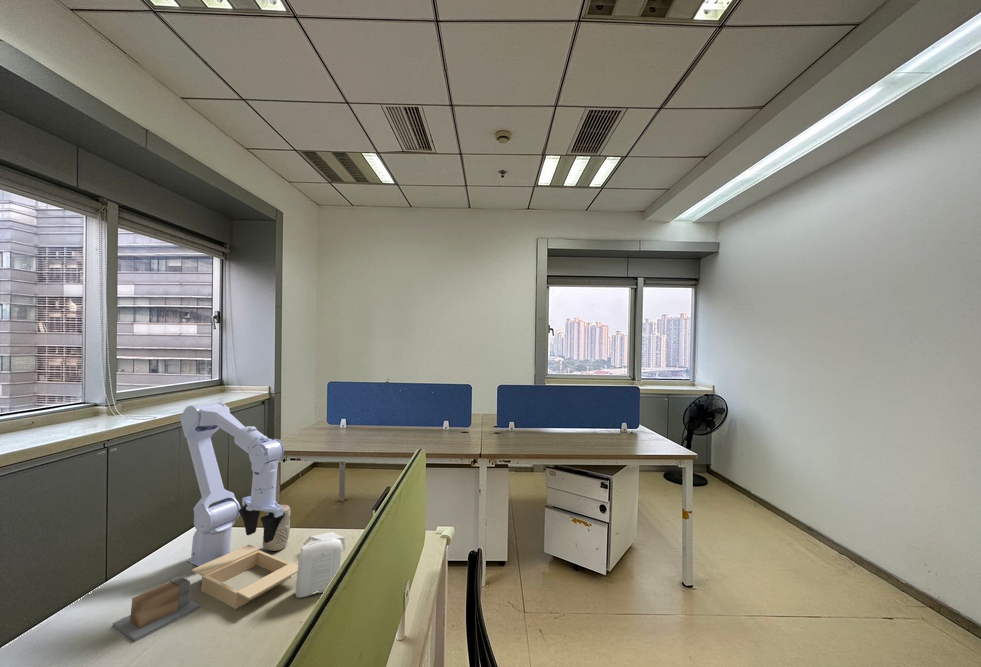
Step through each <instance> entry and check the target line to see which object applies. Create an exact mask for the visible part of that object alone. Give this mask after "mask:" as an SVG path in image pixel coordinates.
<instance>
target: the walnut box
mask: <svg viewBox="0 0 981 667" xmlns="http://www.w3.org/2000/svg"><path fill="white" fill-rule="evenodd" d="M190 589H191V581H190V579H189V580H188V579H186V578H185V577H182V575H181V576H180V575H179V576H177V577H175V578H172V579H170V580H169V581H168V582H165V583H163V584H160V585H159V586H157V587H154V588H152V589H150V590H147V591H146V592H143V593H141V594H139V595H136V596H133V597H132V598H131V606H130V615H131V616H130V622H131V623H132V624H134V625H135V626H137V627H138V628H142V627H144V626H146V625H148V624H150V623H152V622H154V621H156V620H158V619H160V618H162V617H164V616H166V615H168V614H170V613H172V612H174V611H176V610H178V609H180V608H182V607H184V606H186V605H188V600H189V599H190Z"/></svg>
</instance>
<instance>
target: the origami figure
mask: <svg viewBox="0 0 981 667" xmlns="http://www.w3.org/2000/svg"><path fill="white" fill-rule="evenodd" d="M322 539H339V540H340V541H341V545H342V552H344V551H346V543H345V537H344V536H343V535H342V536H341V535H340V534H337V533H336V532H335V531H330V532H325V533H321V534H320V533H319V534H315V535H310V536H309V537H308V538H307V539H306V540H305V541H304V542H303V546H305V545H307V544H308V543H310V541H313V542H314V541H318V540H322Z"/></svg>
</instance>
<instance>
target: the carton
mask: <svg viewBox="0 0 981 667" xmlns="http://www.w3.org/2000/svg"><path fill="white" fill-rule="evenodd" d="M255 565H256V566H258V565H259V566H258V567H260V566H261V567H260V568H263V569H265V568H266V570H267V569H268V570H267V571H269V570H270V572H271V573H269V574H267V575H265V576H263V577H262V578H259V579H258V580H256V581H253V582H252V583H250V584H249V585H246V586H245V587H242V588H241V589H238V590H237V589H236V588H234V587H233V586H230V585H227V584H226V583H223V582H225V581H227V580H230V579H231V578H233V577H236V576H237V575H239V574H242V573H244V572H246V571H248V570H250V569H252V568H254V567H256V566H255ZM191 571H192V572H194V573H196V574H197V575H199V576H202V577H201V585H200V586H201V587H200V591H201V592H203V593H205V594H207V595H208V596H210V597H212V598H214V599H216V600H217V601H219V602H221V601H222V603H223V602H224V604H225V605H227V606H229V607H231V608H233V609H235V610H237V609H238V608H240V607H241V606H242V607H243V606H244V605H245V604H247V603H249V602H251V601H252V600H254V599H256V598H258V597H259V596H261V595H263V594H265V593H266V592H269V591H270V590H272V589H273V588H275V587H277V586H279V585H280V584H282V583H284V582H285V581H288V580H289V579H291V578H292V576H294V575H295V574H297V572H298V563H295V562H289V561H287V560H284V559H281V558H280V557H277V556H274V555H272V554H269V553H267V552H265V551H263V550H260V549H259V548H258V547H256V546H253V545H252V544H251V545H250V544H247V545H244V546H243V547H239V548H238V549H236V550H234V551H230V553H229V554H226V555H224V556H222V557H219V558H217V559H215V560H212V561H210V562H208V563H205V564H203V565H201V566H199V567H198V566H196V567H194V568H192V569H191ZM272 571H273V572H272ZM250 600H251V601H250Z"/></svg>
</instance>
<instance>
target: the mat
mask: <svg viewBox="0 0 981 667" xmlns="http://www.w3.org/2000/svg"><path fill="white" fill-rule="evenodd" d="M199 608H201V605H200V604H198V602H195V601H193V600H192V599H190V598H189V600H188V605H186V606H184V607H182V608H180V609H178V610H176V611H174V612H172V613H170V614H168V615H166V616H164V617H162V618H160V619H158V620H156V621H154V622H152V623H150V624H148V625H146V626H144V627H142V628H138V627H137V626H135V625H134V624H132V623H131V622H130V616H131V614H129V615H128V616H125V617H123V618H121V619H119V620H117V621H114V622H113V623H112V627H113V628H115V629H116V630H118V631H119V632H120V633H121V634H123V635H124V636H126V637H128V638H129V639H130V640H131V641H133V642H134V643H135V642H137V641H139V640H141V639H143V638H144V637H147V636H149V635H150V634H152V633H154V632H156V631H158V630H160V629H162V628H164V627H166V626H167V625H170V624H171V623H174V622H175V621H177V620H179V619H181V618H182V617H184V616H186V615H189V614H191V613H192V612H195V611H197V610H199Z"/></svg>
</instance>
